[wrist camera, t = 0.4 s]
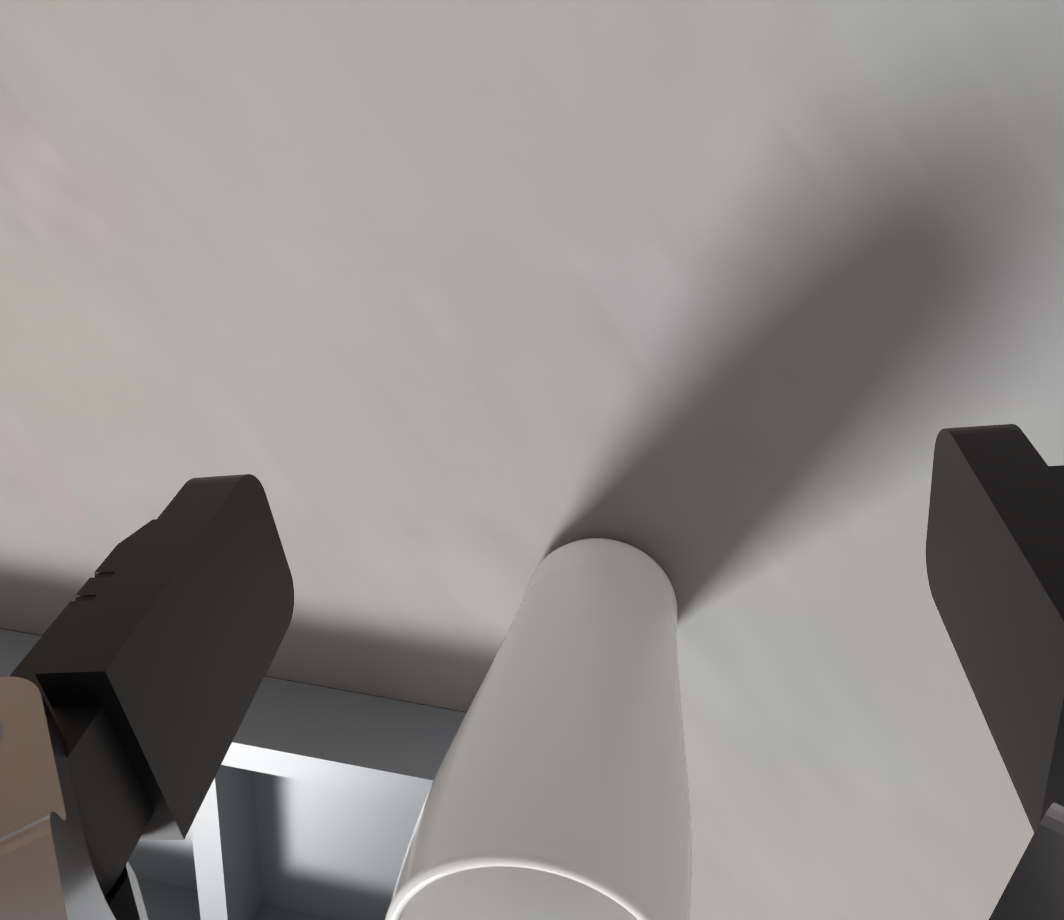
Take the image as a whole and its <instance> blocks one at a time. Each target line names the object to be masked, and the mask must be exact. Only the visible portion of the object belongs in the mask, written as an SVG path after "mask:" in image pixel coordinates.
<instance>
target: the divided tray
mask: <svg viewBox="0 0 1064 920" xmlns="http://www.w3.org/2000/svg"><path fill="white" fill-rule="evenodd" d="M41 637H42V636H38V635H33V634H27V633H21V632H16V631H10V630H5V629H0V677H9V676H10V674H11V673H12V672H13V671H14V670H15V668H16V667H17V666H18V665H19V664H20V662H21V661H22V660H23V659H24V657H25V656H26V655H27V654H28V653H29V651H30V650H31V649H32V648H33V647H34V645H35V644H36V643H37V642H38V640H39V639H40V638H41ZM465 715H466V713H465V712H460V711H454V710H449V709H443V708H438V707H432V706H426V705H421V704H415V703H410V702H404V701H399V700H393V699H388V698H382V697H377V696H371V695H365V694H360V693H354V692H349V691H343V690H338V689H332V688H327V687H321V686H315V685H310V684H304V683H299V682H293V681H288V680H282V679H277V678H271V677H266V676H264V678H263V680H262V682H261V684H260V686H259V688H258V690H257V692H256V694H255V696H254V698H253V700H252V702H251V704H250V706H249V708H248V711H247V713H246V715H245V717H244V719H243V721H242V723H241V725H240V727H239V729H238V731H237V733H236V735H235V737H234V739H233V741H232V743H231V745H230V747H229V749H228V751H227V753H226V755H225V758H224V760H223V762H222V764H221V766H220V768H219V770H218V772H217V774H216V776H215V778H214V780H213V782H212V784H211V786H210V788H209V790H208V792H207V794H206V796H205V798H204V800H203V802H202V805H201V807H200V809H199V811H198V813H197V815H196V817H195V819H194V821H193V823H192V825H191V827H190V829H189V831H188V833H187V835H186V837H185V839H184V840H139V841H138V843H137V845H136V847H135V849H134V850H133V852H132V854H131V856H130V858H129V860H128V862H129V864H130V866H131V868H132V869H133V871H134V873H135V876H136V878H137V881H138V884H139V888H140V891H141V895H142V899H143V902H144V906H145V909H146V913H147V917H148V920H385V917H386V913H387V911H388V908H389V905H390V902H391V899H392V895H393V892H394V889H395V885H396V882H397V879H398V875H399V872H400V869H401V866H402V863H403V859H404V856H405V853H406V850H407V847H408V845H409V842H410V839H411V836H412V833H413V830H414V828H415V825H416V822H417V820H418V817H419V814H420V812H421V809H422V807H423V804H424V802H425V799H426V797H427V794H428V792H429V789H430V787H431V785H432V782H433V780H434V778H435V775H436V773H437V771H438V769H439V767H440V764H441V762H442V760H443V758H444V756H445V754H446V752H447V750H448V748H449V746H450V744H451V742H452V740H453V738H454V736H455V734H456V732H457V730H458V728H459V726H460V724H461V722H462V720H463V718H464V716H465Z"/></svg>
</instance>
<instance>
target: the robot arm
mask: <svg viewBox="0 0 1064 920" xmlns="http://www.w3.org/2000/svg"><path fill="white" fill-rule="evenodd" d="M926 564H927V573H928V580H929V585H930V589H931V593H932V596H933V599H934V602H935V604H936V606H937V609H938V611H939V613H940V616H941V618H942V620H943V623H944V625H945V627H946V630H947V632H948V634H949V636H950V639H951V641H952V643H953V646H954V648H955V650H956V653H957V655H958V657H959V660H960V662H961V664H962V667H963V669H964V671H965V673H966V676H967V678H968V680H969V683H970V685H971V687H972V690H973V692H974V694H975V697H976V699H977V701H978V704H979V706H980V708H981V710H982V713H983V715H984V717H985V720H986V722H987V724H988V727H989V729H990V731H991V734H992V736H993V738H994V741H995V743H996V745H997V747H998V750H999V752H1000V754H1001V757H1002V759H1003V761H1004V764H1005V766H1006V768H1007V771H1008V773H1009V775H1010V778H1011V780H1012V782H1013V784H1014V787H1015V789H1016V791H1017V794H1018V796H1019V798H1020V801H1021V803H1022V805H1023V808H1024V810H1025V812H1026V815H1027V817H1028V819H1029V821H1030V824H1031V826H1032V828H1033V831H1034V835H1033V837H1032V839H1031V841H1030V843H1029V845H1028V847H1027V849H1026V850H1025V852H1024V854H1023V856H1022V858H1021V860H1020V862H1019V864H1018V866H1017V868H1016V869H1015V871H1014V873H1013V875H1012V877H1011V879H1010V881H1009V883H1008V885H1007V887H1006V888H1005V890H1004V892H1003V894H1002V896H1001V898H1000V900H999V902H998V904H997V905H996V907H995V909H994V911H993V913H992V915H991V917H990V919H989V920H1064V466H1048V465H1047V464H1046V463H1045V461H1044V460H1043V459H1042V457H1041V456H1040V455H1039V453H1038V452H1037V451H1036V449H1035V448H1034V447H1033V445H1032V444H1031V443H1030V441H1029V440H1028V439H1027V437H1026V436H1025V434H1024V433H1023V432H1022V430H1021V429H1020V428H1019V427H1018V426H1016V425H1015V424H1006V425H991V426H976V427H961V428H947V429H942V430H941V431H940V432H939V434H938V436H937V439H936V444H935V450H934V461H933V472H932V483H931V495H930V506H929V517H928V529H927V540H926ZM293 606H294V588H293V581H292V576H291V572H290V569H289V566H288V563H287V560H286V557H285V553H284V550H283V547H282V544H281V541H280V538H279V535H278V531H277V528H276V525H275V522H274V519H273V516H272V513H271V509H270V506H269V503H268V500H267V497H266V494H265V491H264V488H263V486H262V485H261V483H260V481H259V480H258V479H257V478H256V477H255V476H253V475H249V474H247V475H232V476H217V477H203V478H193V479H190V480H189V481H187V482H186V483H185V485H184V486H183V487H182V488H181V490H180V491H179V492H178V493H177V495H176V496H175V497H174V498H173V500H172V501H171V502H170V503H169V505H168V506H167V507H166V509H165V510H164V511H163V512H162V514H161V515H160V516H159V517H158V519H155V520H152V521H150V522H149V523H147V524H146V525H145V526H143V527H142V528H140V529H139V530H137V531H136V532H135V533H133V534H132V535H130V536H129V537H128V538H126V539H125V540H123V541H122V542H121V543H119V544H118V545H117V546H116V547H115V548H114V549H113V551H112V552H111V553H110V554H109V556H108V557H107V558H106V559H105V560H104V562H103V563H102V564H101V565H100V566H99V568H98V569H97V570H96V571H95V578H90V579H89V580H88V581H87V582H86V583H85V585H84V586H83V587H82V588H81V590H80V591H79V592H78V593H77V594H76V601H72V602H70V603H69V604H68V605H67V607H66V608H65V609H64V610H63V611H62V613H61V614H60V615H59V616H58V617H57V619H56V620H55V621H54V622H53V623H52V625H51V626H50V627H49V628H48V630H47V631H46V632H45V633H44V634H43V636H42V637H41V638H40V639H39V640H38V642H37V643H36V644H35V645H34V647H33V648H32V649H31V650H30V651H29V653H28V654H27V655H26V656H25V657H24V659H23V660H22V661H21V662H20V664H19V665H18V666H17V667H16V668H15V670H14V671H13V672H12V673H11V674H10V676H9V677H0V920H148V917H147V913H146V909H145V906H144V902H143V899H142V895H141V891H140V888H139V884H138V881H137V878H136V876H135V873H134V871H133V869H132V868H131V866H130V864H129V862H128V860H129V858H130V856H131V854H132V852H133V850H134V849H135V847H136V845H137V843H138V841H139V840H184V839H185V837H186V835H187V833H188V831H189V829H190V827H191V825H192V823H193V821H194V819H195V817H196V815H197V813H198V811H199V809H200V807H201V805H202V802H203V800H204V798H205V796H206V794H207V792H208V790H209V788H210V786H211V784H212V782H213V780H214V778H215V776H216V774H217V772H218V770H219V768H220V766H221V764H222V762H223V760H224V758H225V755H226V753H227V751H228V749H229V747H230V745H231V743H232V741H233V739H234V737H235V735H236V733H237V731H238V729H239V727H240V725H241V723H242V721H243V719H244V717H245V715H246V713H247V711H248V708H249V706H250V704H251V702H252V700H253V698H254V696H255V694H256V692H257V690H258V688H259V686H260V684H261V682H262V680H263V678H264V676H265V674H266V672H267V670H268V668H269V666H270V663H271V661H272V659H273V657H274V655H275V653H276V651H277V649H278V647H279V645H280V643H281V641H282V639H283V637H284V635H285V633H286V631H287V629H288V627H289V624H290V621H291V618H292V613H293Z"/></svg>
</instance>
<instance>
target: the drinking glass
mask: <svg viewBox="0 0 1064 920" xmlns="http://www.w3.org/2000/svg"><path fill="white" fill-rule="evenodd" d="M676 633H677V600H676V596H675V592H674V589H673V587H672V584H671V582H670V580H669V578H668V577H667V575H666V573H665V572H664V571H663V569H662V568H661V567H660V566H659V565H658V564H657V563H656V562H655V561H654V560H653V559H652V558H651V557H650V556H648V555H647V554H646V553H644V552H643V551H641V550H639V549H638V548H636V547H634V546H631V545H629V544H626V543H624V542H620V541H616V540H611V539H604V538H590V539H582V540H577V541H574V542H571V543H568V544H566V545H563V546H561V547H559V548H558V549H556V550H554V551H553V552H551V553H550V554H549V555H548V556H547V557H545V558H544V559H543V560H542V561H541V563H540V564H539V565H538V566H537V568H536V569H535V571H534V572H533V574H532V576H531V578H530V580H529V583H528V585H527V588H526V591H525V594H524V597H523V600H522V603H521V605H520V607H519V609H518V611H517V613H516V615H515V618H514V620H513V622H512V624H511V626H510V628H509V630H508V632H507V634H506V636H505V638H504V640H503V642H502V644H501V646H500V648H499V650H498V652H497V654H496V656H495V658H494V660H493V662H492V664H491V666H490V668H489V670H488V672H487V674H486V675H485V677H484V679H483V681H482V683H481V685H480V687H479V689H478V691H477V693H476V695H475V697H474V699H473V701H472V703H471V705H470V707H469V709H468V711H467V713H466V715H465V716H464V718H463V720H462V722H461V724H460V726H459V728H458V730H457V732H456V734H455V736H454V738H453V740H452V742H451V744H450V746H449V748H448V750H447V752H446V754H445V756H444V758H443V760H442V762H441V764H440V767H439V769H438V771H437V773H436V775H435V778H434V780H433V782H432V785H431V787H430V789H429V792H428V794H427V797H426V799H425V802H424V804H423V807H422V809H421V812H420V814H419V817H418V820H417V822H416V825H415V828H414V830H413V833H412V836H411V839H410V842H409V845H408V847H407V850H406V853H405V856H404V859H403V863H402V866H401V869H400V872H399V875H398V879H397V882H396V885H395V889H394V892H393V895H392V899H391V902H390V905H389V908H388V911H387V913H386V917H385V920H690V910H691V885H692V838H691V816H690V802H689V789H688V778H687V766H686V755H685V743H684V732H683V720H682V708H681V696H680V683H679V670H678V656H677V640H676Z"/></svg>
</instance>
